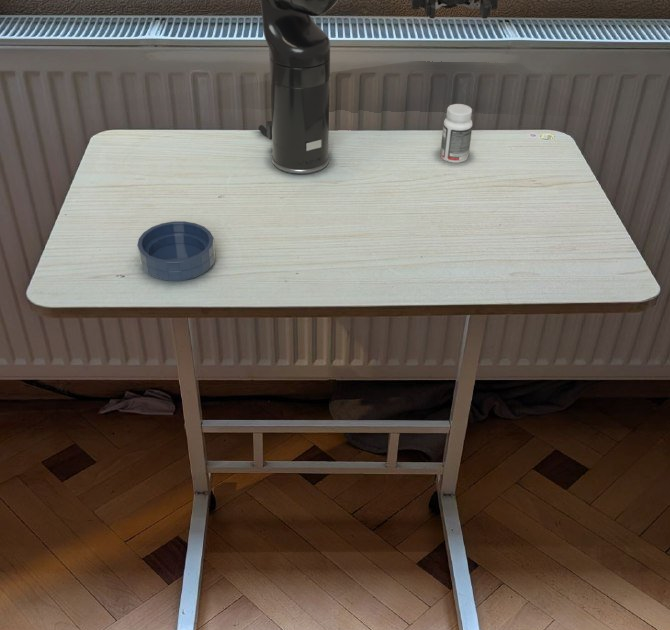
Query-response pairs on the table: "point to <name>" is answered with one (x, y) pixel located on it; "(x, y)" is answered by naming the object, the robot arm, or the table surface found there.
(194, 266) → the dish
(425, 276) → the table surface
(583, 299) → the table surface
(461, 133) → the pill bottle
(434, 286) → the table surface
